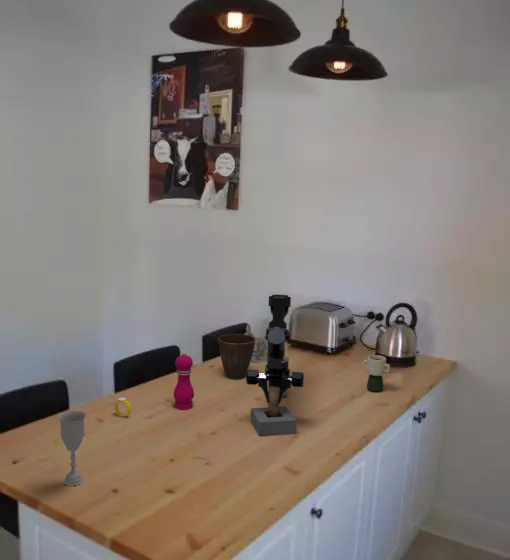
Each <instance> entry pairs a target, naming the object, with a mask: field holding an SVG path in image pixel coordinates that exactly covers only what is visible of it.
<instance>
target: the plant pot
mask: <svg viewBox="0 0 510 560" xmlns="http://www.w3.org/2000/svg"><path fill="white" fill-rule="evenodd" d="M244 334H245V333H244ZM244 334H241V333H229V334H222V335H220V336H219V337H217V338H218V340H217V341H218V348H219V355H220V359H221V363H222V367H223V370H224V374H225V376H226V378H228V379H230V380H242V379H244V378H246V372H247V371H248V370H249V367H250V365H251V364H250V361H251V358H252V354H253V350H254V345H255V338H254V337H255V336H254V337H252V336H249V335H244Z"/></svg>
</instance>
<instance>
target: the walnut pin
mask: <svg viewBox="0 0 510 560" xmlns="http://www.w3.org/2000/svg"><path fill="white" fill-rule="evenodd" d="M279 393H280V388H279V387H277V386H270V387H269V396H268V403H267V407H268V418H271V417H279V407H280V403H279Z"/></svg>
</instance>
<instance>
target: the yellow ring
mask: <svg viewBox="0 0 510 560" xmlns="http://www.w3.org/2000/svg"><path fill="white" fill-rule="evenodd" d="M119 403H124V404H125V405H126V407H127V413H121V411H120V410H119V406H118V405H119ZM114 410H115V413H116V414H117V416H120V417H123V418H124V417H125V418H127V417H128V416H129V415H130V414H131V411H132V407H131V404H130V402H129V401H128V400H127V397H119V398H118V399H117V400H116V401H115V403H114Z"/></svg>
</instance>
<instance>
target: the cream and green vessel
mask: <svg viewBox="0 0 510 560" xmlns="http://www.w3.org/2000/svg"><path fill="white" fill-rule="evenodd" d="M362 367H363V368H364V369H366V373H367V374H368V378H367V383H366V389H368V390H369V391H372V392H376V391H377V392H379V391H383V390H384V381H383V380H384V379H383V376H384V375H385V374H387V373H388V374H389V373H390V371H391V365H390V364H388V363H387V358H386V357H385V356H383V355H375V354H373V355H368V356H367V359H363V364H362ZM386 367H387V368H386Z"/></svg>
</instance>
